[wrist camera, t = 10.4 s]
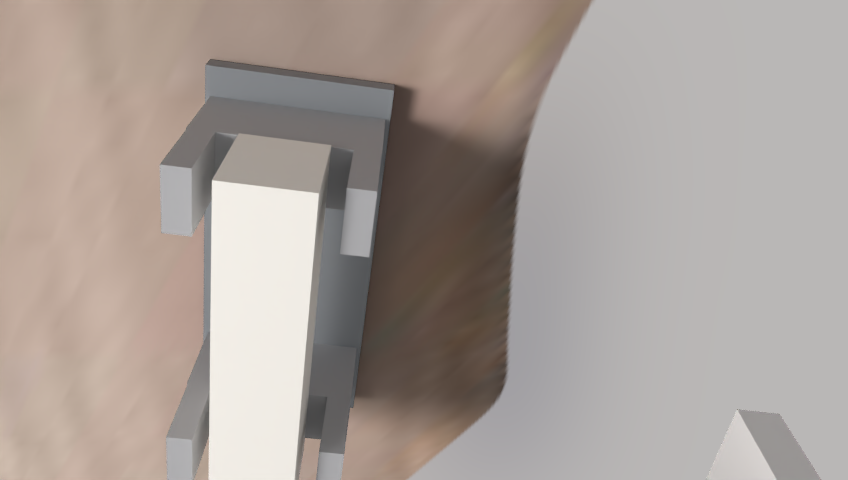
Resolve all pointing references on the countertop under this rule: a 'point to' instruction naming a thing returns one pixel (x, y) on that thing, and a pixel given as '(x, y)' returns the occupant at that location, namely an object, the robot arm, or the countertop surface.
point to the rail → (264, 304)
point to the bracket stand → (342, 237)
